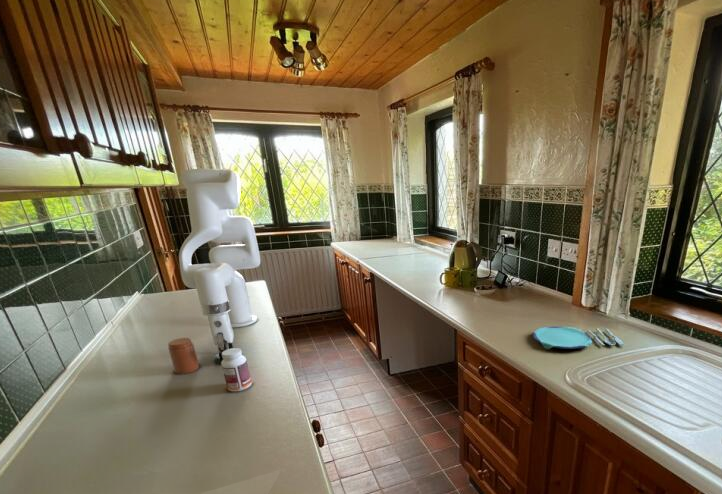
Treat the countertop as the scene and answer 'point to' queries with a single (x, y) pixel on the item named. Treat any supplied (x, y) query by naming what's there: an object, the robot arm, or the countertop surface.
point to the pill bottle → (235, 370)
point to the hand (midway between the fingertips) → (227, 357)
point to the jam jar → (183, 355)
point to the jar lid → (217, 358)
